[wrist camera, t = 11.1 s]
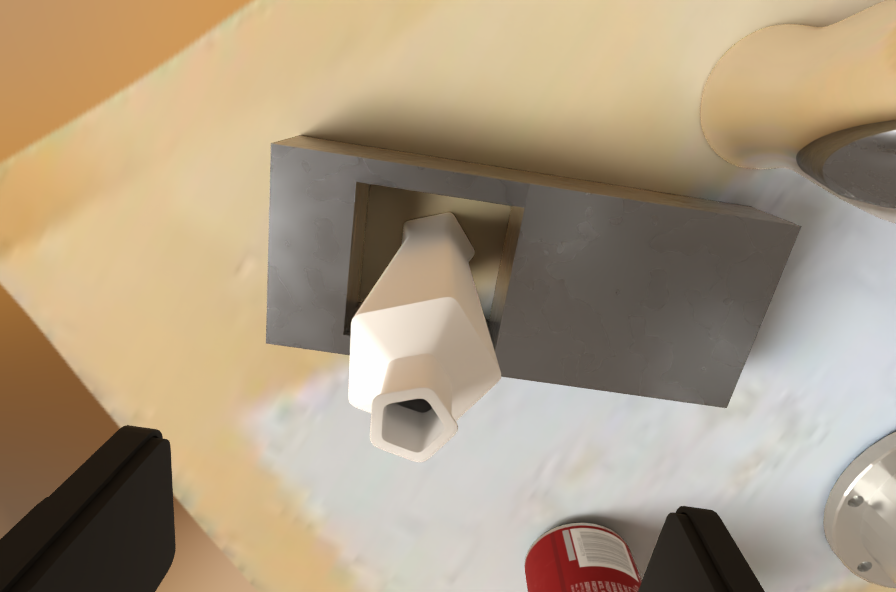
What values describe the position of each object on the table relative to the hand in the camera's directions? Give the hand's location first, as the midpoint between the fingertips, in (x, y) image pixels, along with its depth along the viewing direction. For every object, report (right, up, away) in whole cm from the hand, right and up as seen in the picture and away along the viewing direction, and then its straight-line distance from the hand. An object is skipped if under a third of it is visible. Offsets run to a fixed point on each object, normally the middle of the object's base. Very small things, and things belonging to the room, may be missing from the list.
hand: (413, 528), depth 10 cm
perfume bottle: (0, +7, +17) cm, 18 cm away
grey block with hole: (+4, +6, +17) cm, 18 cm away
